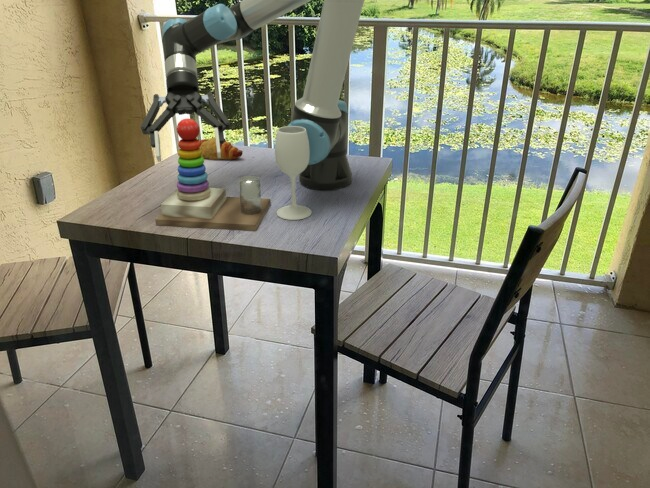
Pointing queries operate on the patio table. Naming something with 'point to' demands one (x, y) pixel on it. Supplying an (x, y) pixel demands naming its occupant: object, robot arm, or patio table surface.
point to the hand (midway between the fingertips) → (189, 157)
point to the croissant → (226, 150)
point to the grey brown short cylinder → (250, 195)
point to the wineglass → (292, 165)
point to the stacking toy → (191, 163)
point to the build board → (221, 217)
